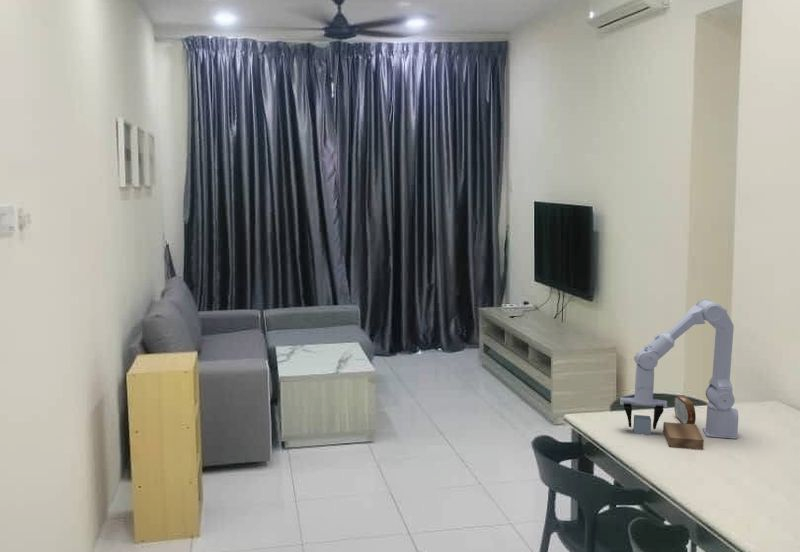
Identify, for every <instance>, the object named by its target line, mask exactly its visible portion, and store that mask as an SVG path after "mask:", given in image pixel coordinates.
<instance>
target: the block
mask: <svg viewBox="0 0 800 552" xmlns="http://www.w3.org/2000/svg"><path fill="white" fill-rule="evenodd" d="M632 427H633V429H632V430H633V434H634V435H641V434H643V435H644V436H651V435H652V433H651V432H652V431H651V429H652V417H651V416H650V415H642V414H641V415H640V414H633V426H632Z"/></svg>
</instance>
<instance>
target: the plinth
mask: <svg viewBox="0 0 800 552" xmlns="http://www.w3.org/2000/svg"><path fill="white" fill-rule="evenodd" d="M662 432H663V434H664V438H665V440H666V443H667V445H668V447H669V448H676V449H677V448H678V449H679V448H680V449H689V448H691V449H690V450H702V449H703V450H704V438H703V436H702V434H701V432H700V430H699V428H698V426H697V424H696V423H695V424H683V423H682V422H681V423H680V422H668V421H667V422H666V421H664V422H663V429H662Z"/></svg>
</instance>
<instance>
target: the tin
mask: <svg viewBox="0 0 800 552" xmlns="http://www.w3.org/2000/svg"><path fill="white" fill-rule="evenodd" d="M695 409H696V408H695V405H694V403H693V401H691V400H690V399H689V398H688V397H687V396H686V395H684V394H682V395H675V397H674V410H673V411H674V414H675V417H676V418H677V420H678V421H680V422H681V423H683V424H696V419H697V418H696V410H695Z"/></svg>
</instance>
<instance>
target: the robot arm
mask: <svg viewBox="0 0 800 552" xmlns="http://www.w3.org/2000/svg"><path fill="white" fill-rule="evenodd" d="M706 322H708V323H709V324H710V325H711V327H713V328H714V329H715V336H714V350H713V363H712V364H713V365H712V376H711V377H710V379H709V382H708V386H707V387H706V389H705V397H706V399H707V400H708V403H707V406H706V420H705V427H702V431H703V432H704V434H705V436H706V437H708V438H709V437H710V438H723V439H724V438H725V439H734V440H735V439H737V440H738V432H739V411H738V409H737V408H733V406H734V404H735V401H736V399H735V396H734V394H733V386H732V383H731V380H730V379H731V364H732V353H733V342H734V341H733V340H734V329H735V328H734V326H735V325H734V323H733V321H732V320H731V318H730V316H729V314H728V310H727V309H726V308H724V307H723V306H722V305H721V304H719V303H717V302H714V301H712V300H710V299H707V298H704V299H701V300H699V301H698V302H697V303H695V304H694V305H692V306H691V307H690V308H689V310H688V311H687V312H686V313H685V314H684V315H683V316H682V317H681V318H680V319H679V320H678V321H677V322H676V323H675V324H674V325H673V326H672V327H671V328H670V330H668V331H667V332H661V333H660V334H656V335H655V336H654V339H653V340H652V341H650V342H649V343H648V344H647V345H644V346H643V348H642V349H639V350H638V351H637V352H636V353H635V356H634V357H633V359H634V362H635V363H636V366H635V367H636V368H635V380H634V381H635V383H634V397H619V398H620V399H619V404H620V405H621V406H623V408H624V410H625V413H626V416H627V423H628V427H629V428H632V414H633V413H632V412H633V408H632V406H641V407H653V421H652V422H653V423H652V429H653V430H656V429H657V425H658V422H659V419H660V417H662V414H663V413H664V410H665V409H667V408H668V401H667V400H662V399H657V398H654V387H655V386H654V383H655V368H657V366H658V362H659V360H660V359H661V358H662V357H665V355H666V354H668V352H669V351H670V350H672V349H673V348H674V347H675V342H676V340H677V339H679V337H681V336H682V335H683V334H684V333H686V332H687V331H688V330H690V328H693V326H694V325H705V324H706Z"/></svg>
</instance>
